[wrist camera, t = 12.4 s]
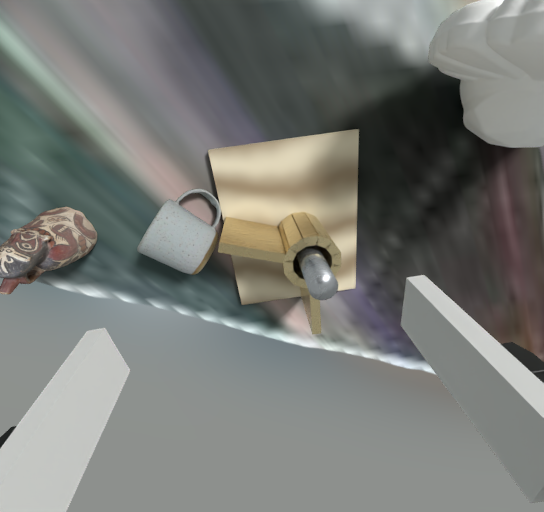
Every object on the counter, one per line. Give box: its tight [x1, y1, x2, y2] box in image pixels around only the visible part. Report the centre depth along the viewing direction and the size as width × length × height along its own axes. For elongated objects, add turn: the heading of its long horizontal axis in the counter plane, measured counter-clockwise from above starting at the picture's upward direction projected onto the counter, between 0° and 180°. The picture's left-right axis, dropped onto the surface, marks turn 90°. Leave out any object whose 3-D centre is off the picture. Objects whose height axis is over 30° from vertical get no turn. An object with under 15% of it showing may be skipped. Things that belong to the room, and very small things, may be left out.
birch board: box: [208, 129, 359, 305], centre depth 39 cm, size 24×19×1 cm
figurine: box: [0, 207, 97, 294], centre depth 32 cm, size 7×7×12 cm
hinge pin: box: [296, 245, 338, 300], centre depth 33 cm, size 3×3×14 cm
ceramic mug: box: [137, 189, 221, 275], centre depth 35 cm, size 11×8×8 cm
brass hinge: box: [218, 212, 341, 334], centre depth 36 cm, size 15×14×9 cm
